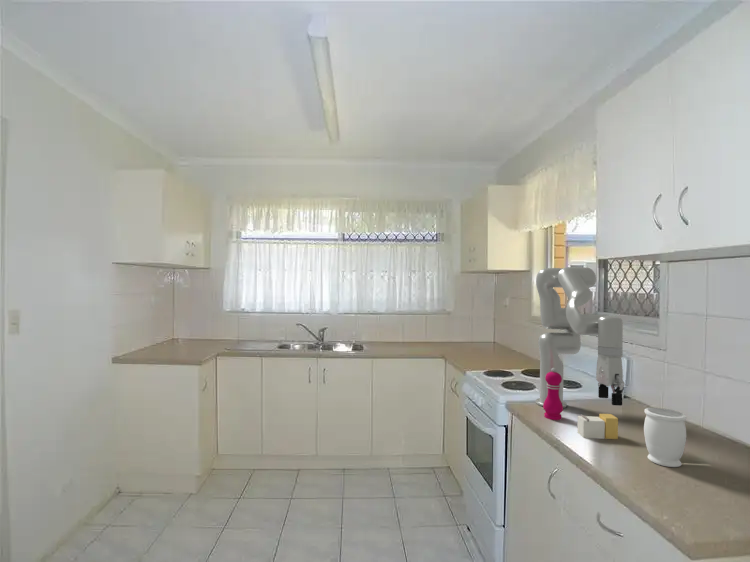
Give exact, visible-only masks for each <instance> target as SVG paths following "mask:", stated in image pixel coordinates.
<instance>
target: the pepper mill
mask: <svg viewBox="0 0 750 562" xmlns="http://www.w3.org/2000/svg"><path fill="white" fill-rule="evenodd" d="M551 371H552V372H549V373H547V374H546V377H545V380H546V381H547V388H548V395H547V398H546V399H545V401H544V404H543V406H542V408H543V410H544V411H545V412H544V413H543V416H544V418H545V419H548V420H552V421H560V420H562V414H561V413H562V412H563V411H564V408H563V405H562V402H561V400H560V398H559V389H560V385H559V384H560V383H561V381H562V377H561V375H560V374H559V373H557V372H556V369H555V368H552V369H551Z"/></svg>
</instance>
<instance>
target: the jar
mask: <svg viewBox="0 0 750 562" xmlns="http://www.w3.org/2000/svg"><path fill="white" fill-rule="evenodd" d="M644 414H645V415H646V416H645V418H644V424H643V434H644V435H643V436H644V440H645V447H646V449H647V451H648V454H647V459H648V460H650V461H651V463H654V464H656V465H659V466H664V467H669V468H678V467H681V466H682V462H681V458H682V457H683V454H684V451H685V446H686V442H687V427H686V423H685V421H686V420H687V415H686V414H685V413H683V412H680V411H676V410H673V409H669V408H668V409H667V408H661V407H645V408H644Z"/></svg>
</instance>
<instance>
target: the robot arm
mask: <svg viewBox="0 0 750 562" xmlns="http://www.w3.org/2000/svg"><path fill="white" fill-rule="evenodd" d="M596 282H597V276H596V273H595V271H594V270H593V269H592V268H589V267H586V266H585V267H584V266H575V267H574V266H567V267H562V268H560V267H546V268H542V269H541V270H539V271H538V272H537V275H536V278H535V286H536V290H537V293H538V296H539V309H540V310H539V311H540V323H541V326H542V328H544V329H546V330H563V331H564V332H545V333H542V334H540V335H539V337H538V340H537V345H538V351H539V363H540V364H539V398H537V399H536V400H535V403H536V404H537V405H538V406H541V407H543V404H544V401H545V399H546V398H547V395H548V388H547V381H546V380H545V377H546V374H547V373H549V372H552V371H551V369H552V368H555V369H556V372H557V373H559V374H560V375H561V377H562V381H561V383H560V384H559V385H560V389H559V398H560V400H561V402H562V405H563V409H565V408H567V403H568V402H566V401H564V363H563V361H562V359H561V358H560V355H576V354H578V353H579V352H580V350H581V343H582V342H581V341H582V340H581V335H582V336H597V361H596V371H595V372H596V375H595V377H596V378H595V379H596V381H597V382H598V383H597V386H598V393H597V394H598V395H597V396H598V398H599V399H609V387H610V388H611V391H612V393H611V405H612V406H620V407H621V406H623V394H624V390H625V388H624V387H625V385H626V384H625V382H624V373H623V371H624V369H623V361H622V358H623V349H624V348H623V340H624V339H623V336H624V335H623V333H624V332H623V327H624V326H623V323H624V322H623V319H622V318H621V317H620V316H613V315H611V316H610V315H609V314H608V315H607V314H597V313H596V314H594V313H593V314H592V313H591V314H590V313H589V314H588V313H587V314H586V313H584V314H583V313H581V312H580V310H579V307H581V306H584V305H586V304H587V303H588V302H590V301H591V299H592V297H593V293H592V290H591V289H590V288H592V287H594V286H595V285H596ZM555 288H559V289H560V288H562V290H563V292H564V293H565V295H566V297H567V299H568V301H567V304H566V307H562V305H561V304H562V303H561V297H560V295H559V293H558V292H557V291H556V289H555Z"/></svg>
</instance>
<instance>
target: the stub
mask: <svg viewBox="0 0 750 562" xmlns="http://www.w3.org/2000/svg"><path fill="white" fill-rule="evenodd" d="M598 417H599V418H601V419H602V420H604V421H605V436H604V439H605V440H607V439H609V440H618V439H619V417H617V416H615V415H614V414H612V413H599V415H598Z"/></svg>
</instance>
